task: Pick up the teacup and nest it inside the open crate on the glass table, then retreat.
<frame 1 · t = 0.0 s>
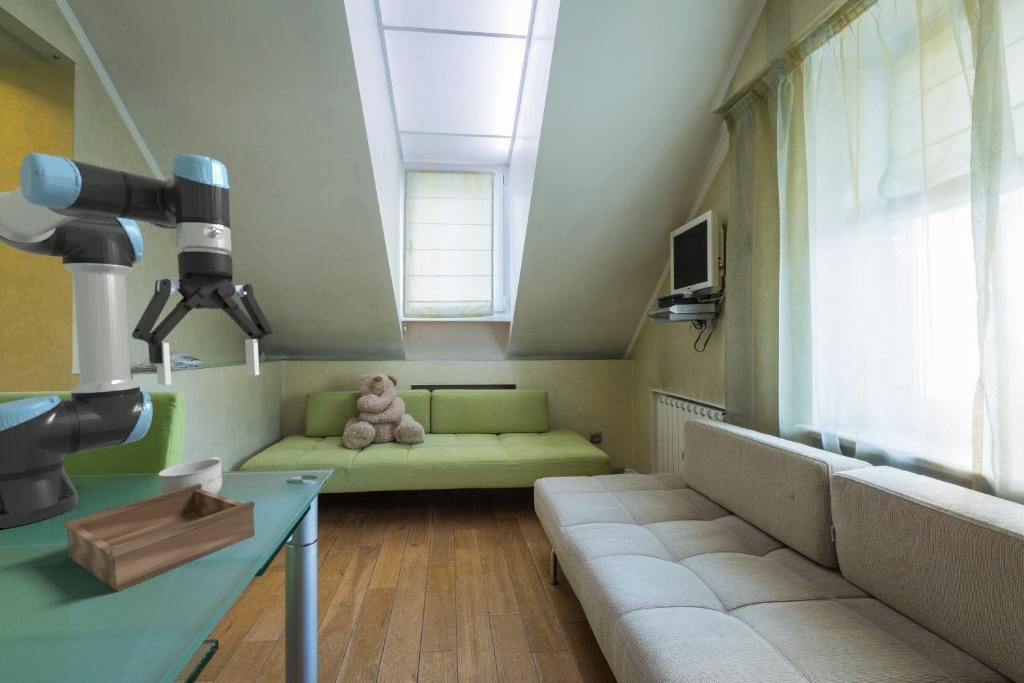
hand: (212, 379, 75), 28 cm above the table, fingers open, 13 cm apart
crate: (165, 545, 75), on the table
teacup: (199, 500, 96), on the table
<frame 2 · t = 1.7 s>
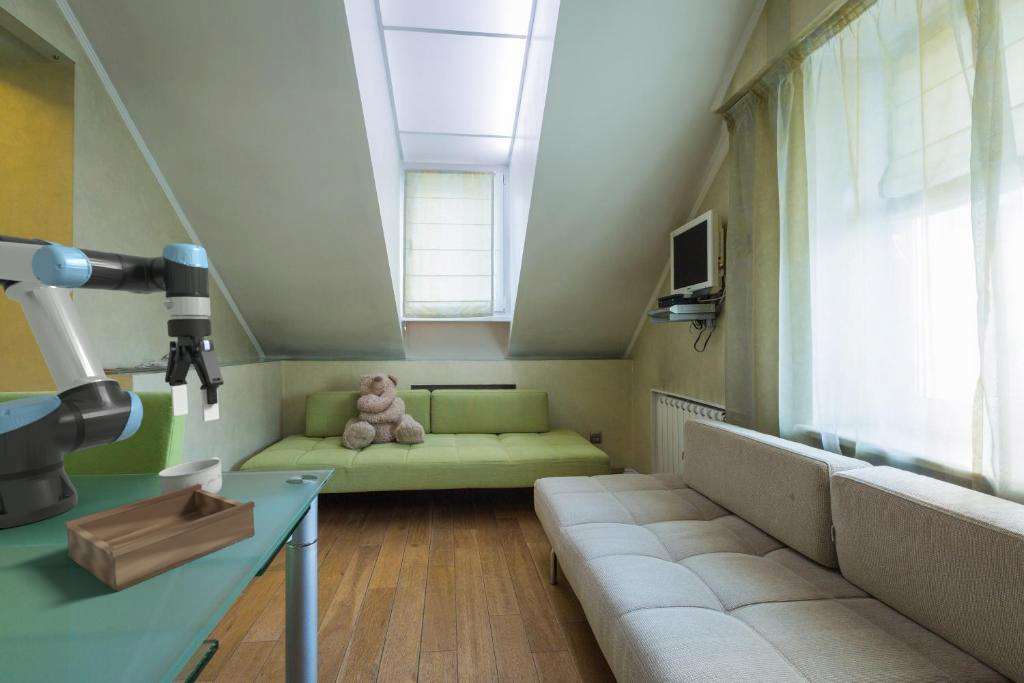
hand: (195, 417, 95), 18 cm above the table, fingers open, 13 cm apart
nothing on the table moved.
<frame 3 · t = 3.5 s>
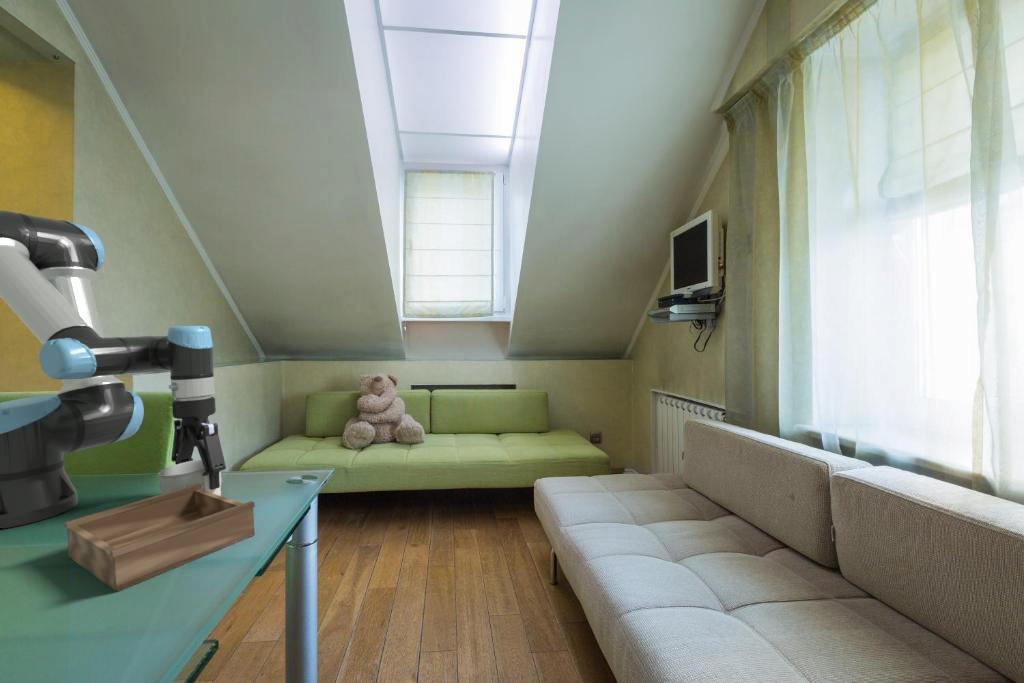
hand: (199, 498, 96), 0 cm above the table, fingers open, 11 cm apart
teacup: (198, 500, 96), on the table, touching gripper
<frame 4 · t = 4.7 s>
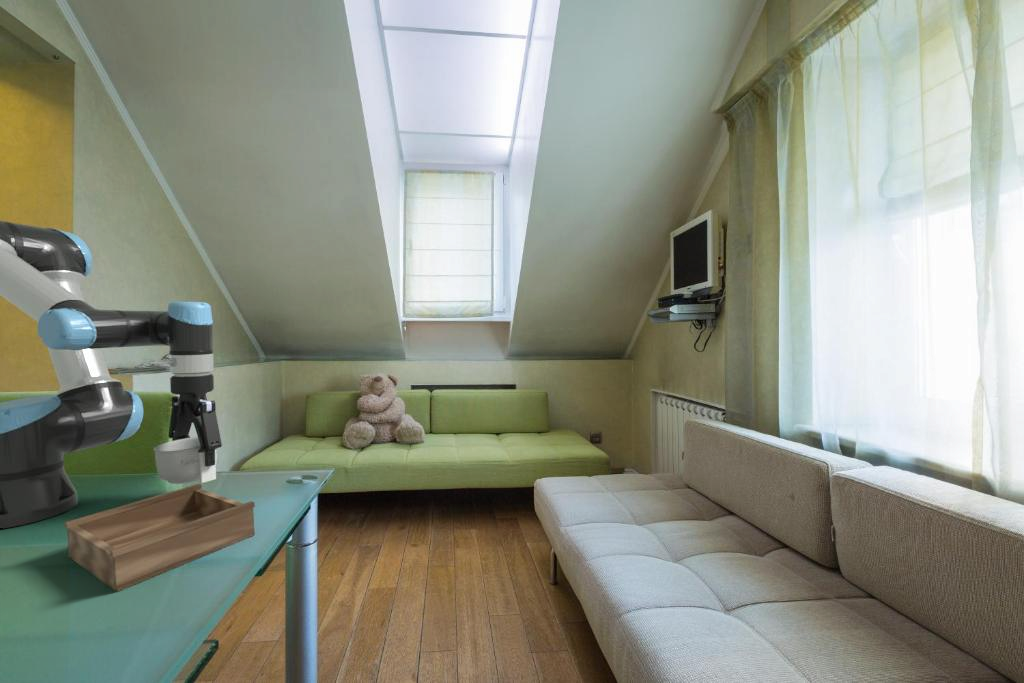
hand: (195, 475, 96), 5 cm above the table, fingers closed on teacup, 11 cm apart
teacup: (193, 477, 96), point 5 cm above the table, touching gripper
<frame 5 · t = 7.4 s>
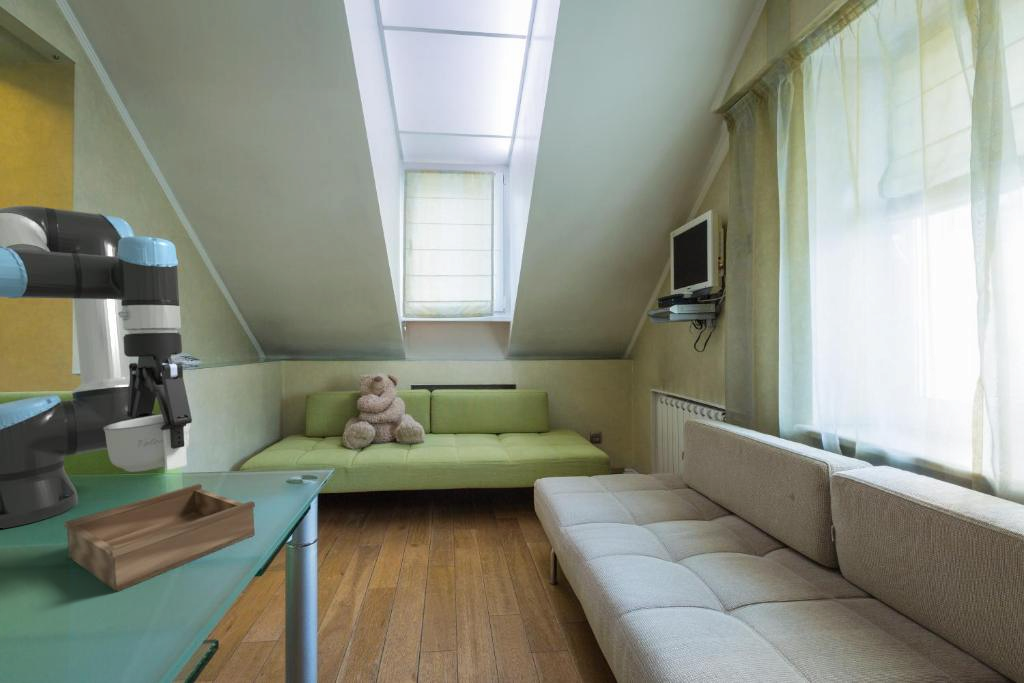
hand: (160, 462, 75), 14 cm above the table, fingers closed on teacup, 11 cm apart
teacup: (159, 464, 75), point 14 cm above the table, touching gripper
when the fingers open (2 cm above the table, at t = 10.0 s): teacup drops 1 cm, resting on crate.
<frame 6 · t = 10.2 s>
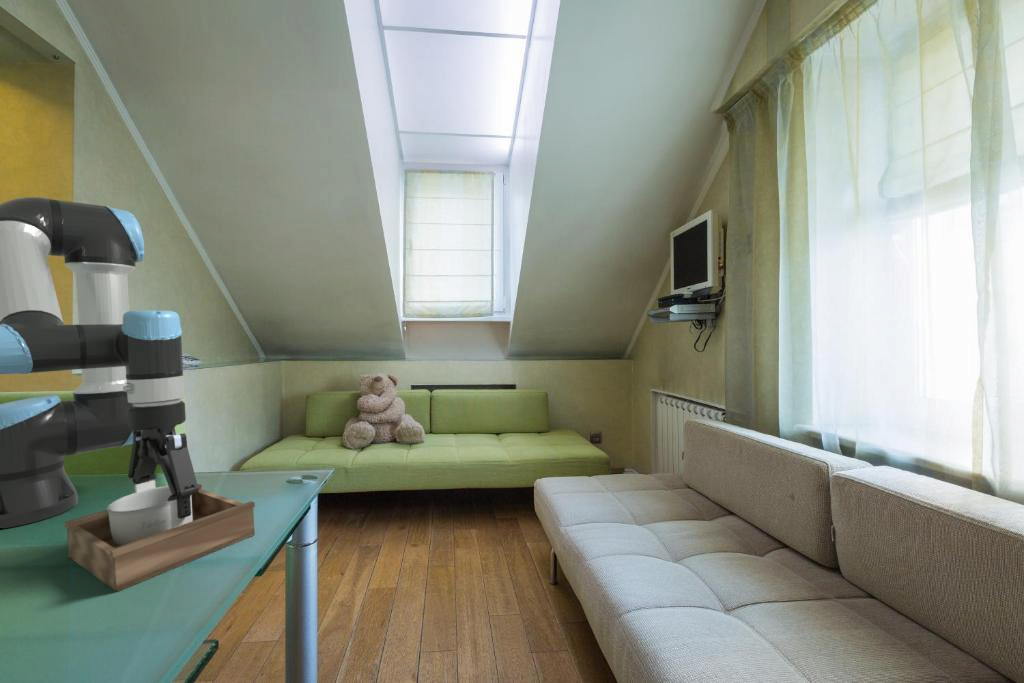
hand: (164, 527, 75), 3 cm above the table, fingers open, 13 cm apart
teacup: (161, 538, 76), point 1 cm above the table, touching crate, gripper
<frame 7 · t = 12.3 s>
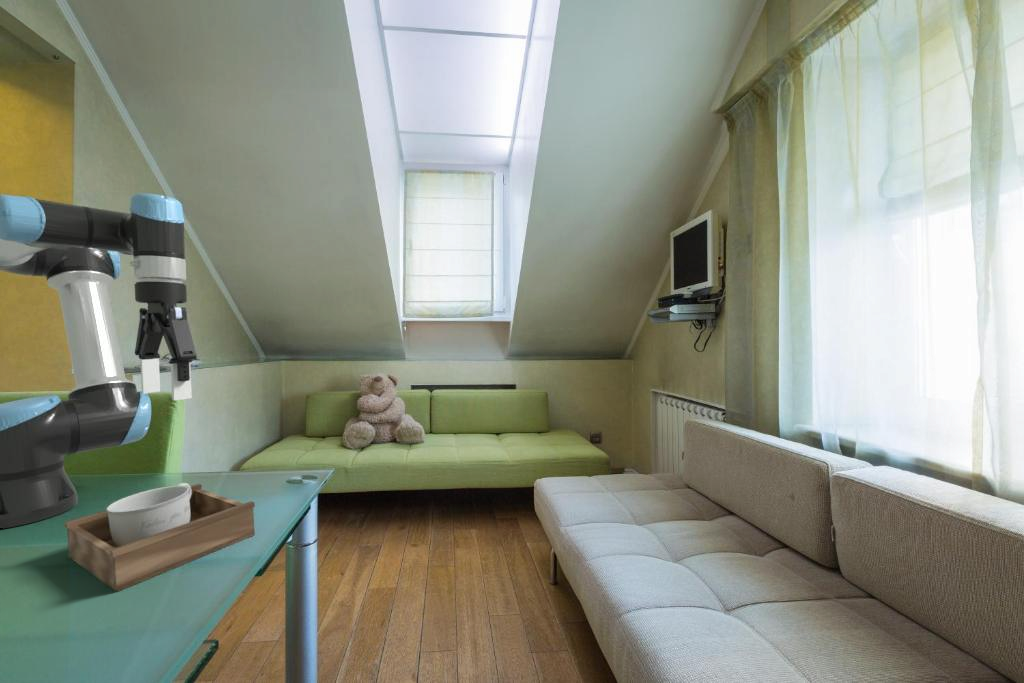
hand: (166, 395, 83), 24 cm above the table, fingers open, 13 cm apart
teacup: (161, 539, 76), point 1 cm above the table, touching crate
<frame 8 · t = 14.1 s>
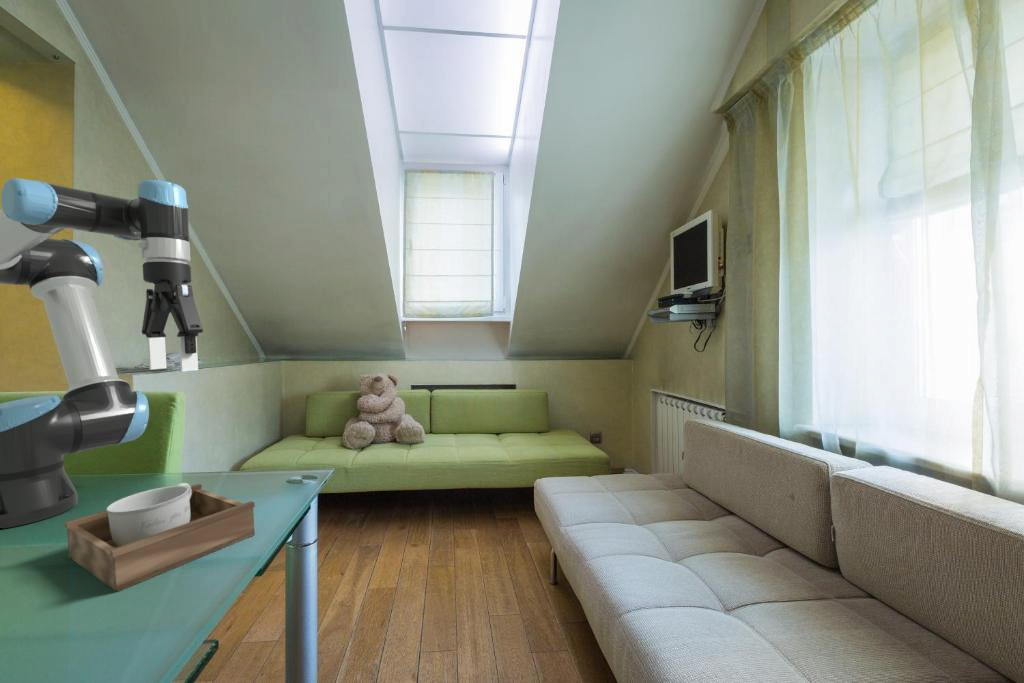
hand: (173, 370, 88), 29 cm above the table, fingers open, 13 cm apart
nothing on the table moved.
at the end: teacup inside the target area on the crate (1.7 cm from its centre), point 0.6 cm above the crate's base; teacup tilted 0°; the gripper is holding nothing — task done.
